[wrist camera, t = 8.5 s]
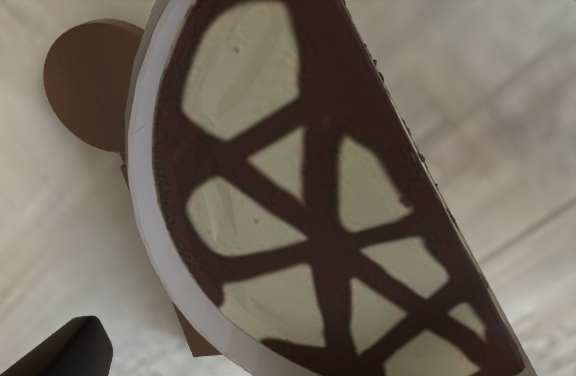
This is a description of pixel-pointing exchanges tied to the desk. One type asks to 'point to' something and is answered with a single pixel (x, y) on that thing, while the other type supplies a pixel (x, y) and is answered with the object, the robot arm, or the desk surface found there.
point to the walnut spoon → (101, 100)
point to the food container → (299, 200)
